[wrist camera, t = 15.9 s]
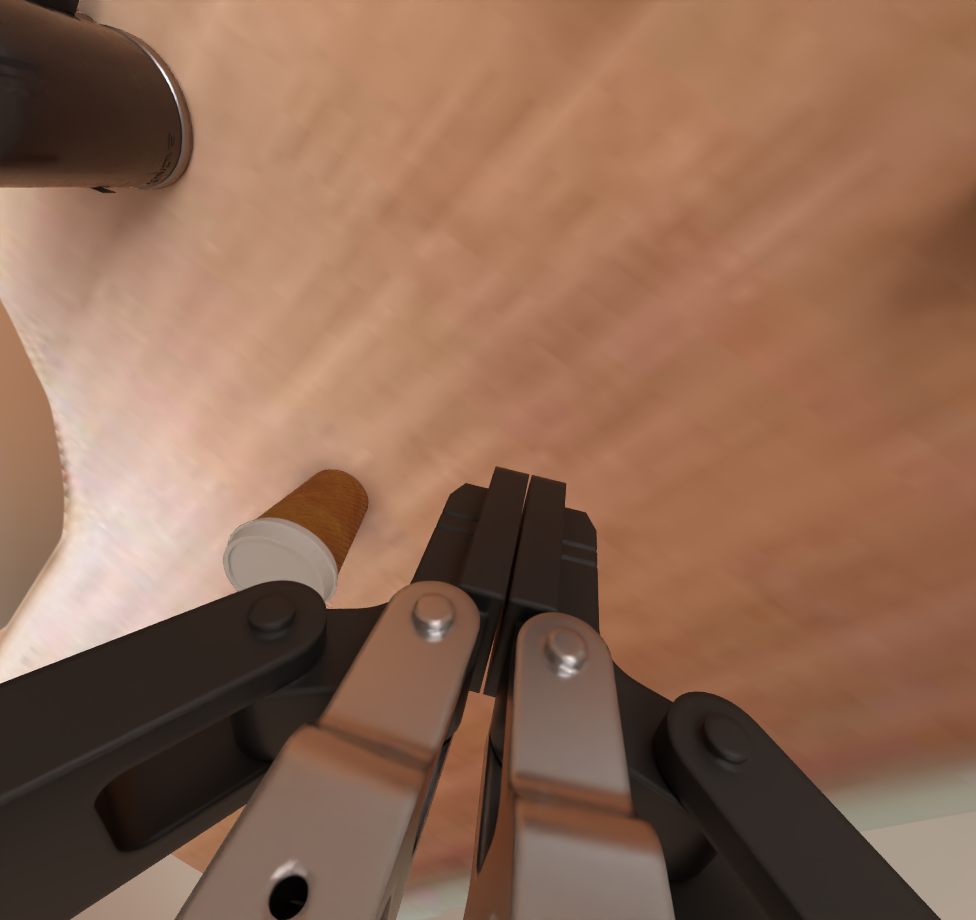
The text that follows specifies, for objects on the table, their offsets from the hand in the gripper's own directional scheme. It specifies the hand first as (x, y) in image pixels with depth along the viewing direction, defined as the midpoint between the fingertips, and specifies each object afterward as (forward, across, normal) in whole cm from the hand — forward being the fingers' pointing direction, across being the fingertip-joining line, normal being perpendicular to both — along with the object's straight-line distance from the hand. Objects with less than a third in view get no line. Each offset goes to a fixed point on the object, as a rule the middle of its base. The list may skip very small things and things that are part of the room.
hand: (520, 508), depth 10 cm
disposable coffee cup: (+29, +17, +25) cm, 42 cm away
